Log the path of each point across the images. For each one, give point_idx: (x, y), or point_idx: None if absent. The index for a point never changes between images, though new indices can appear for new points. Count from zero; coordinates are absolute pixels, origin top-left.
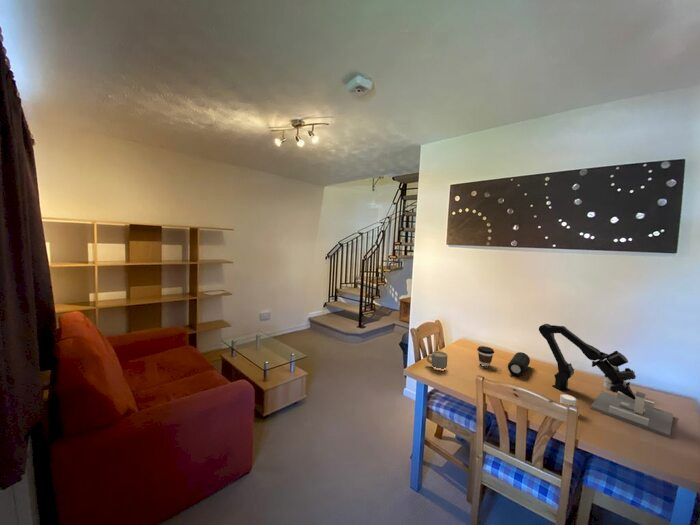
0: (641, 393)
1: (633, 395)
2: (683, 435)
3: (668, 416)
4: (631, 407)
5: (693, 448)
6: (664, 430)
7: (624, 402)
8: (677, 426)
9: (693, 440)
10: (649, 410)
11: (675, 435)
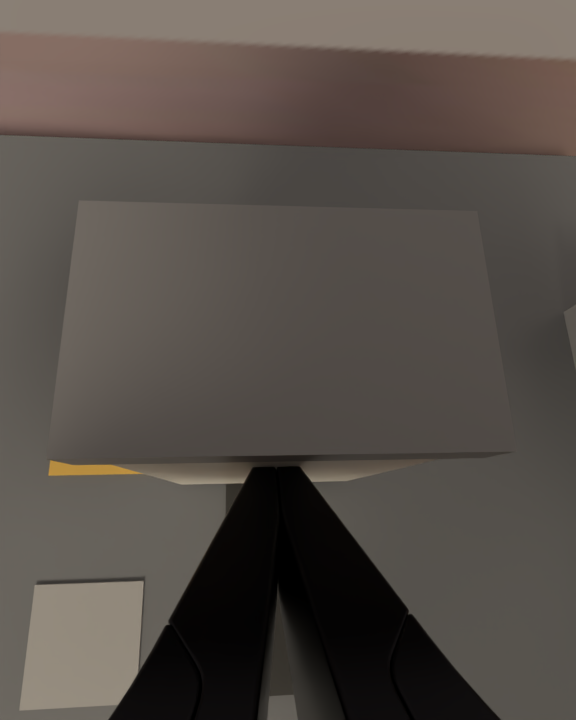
0: (199, 304)
1: (337, 526)
2: (376, 103)
3: (57, 168)
4: (158, 537)
5: (566, 63)
6: (537, 191)
7: (10, 666)
8: (197, 134)
9: (403, 55)
10: (43, 337)
11: (449, 148)
